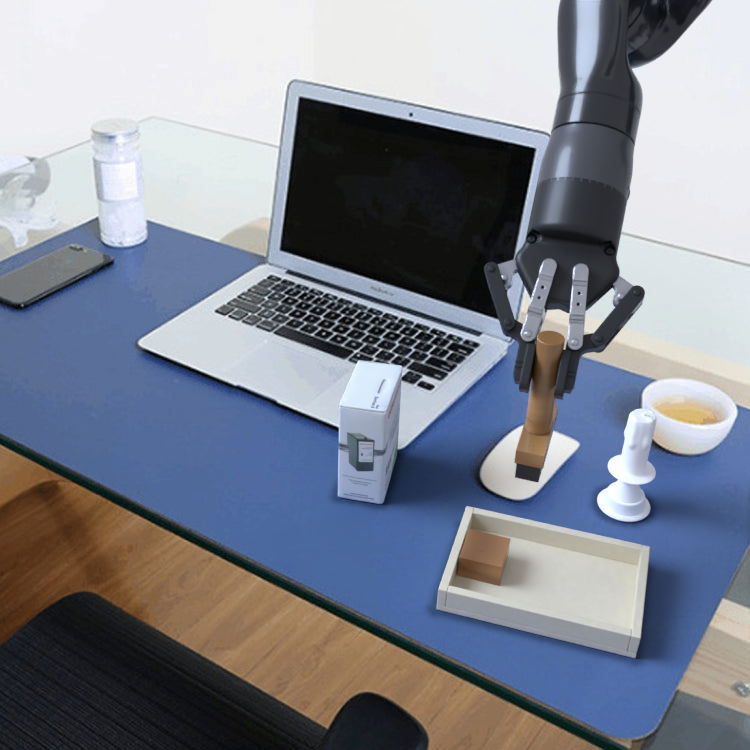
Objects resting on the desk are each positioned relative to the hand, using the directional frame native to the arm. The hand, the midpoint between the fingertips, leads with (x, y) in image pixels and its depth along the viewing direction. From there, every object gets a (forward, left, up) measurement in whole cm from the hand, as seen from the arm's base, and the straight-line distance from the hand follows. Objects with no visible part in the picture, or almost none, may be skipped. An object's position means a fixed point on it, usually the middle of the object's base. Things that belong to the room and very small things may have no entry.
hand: (541, 393), depth 80 cm
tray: (-3, -1, -22) cm, 22 cm away
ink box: (+17, -11, -22) cm, 30 cm away
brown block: (+3, -1, -21) cm, 21 cm away
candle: (-9, -15, -22) cm, 28 cm away
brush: (0, -2, -8) cm, 8 cm away
